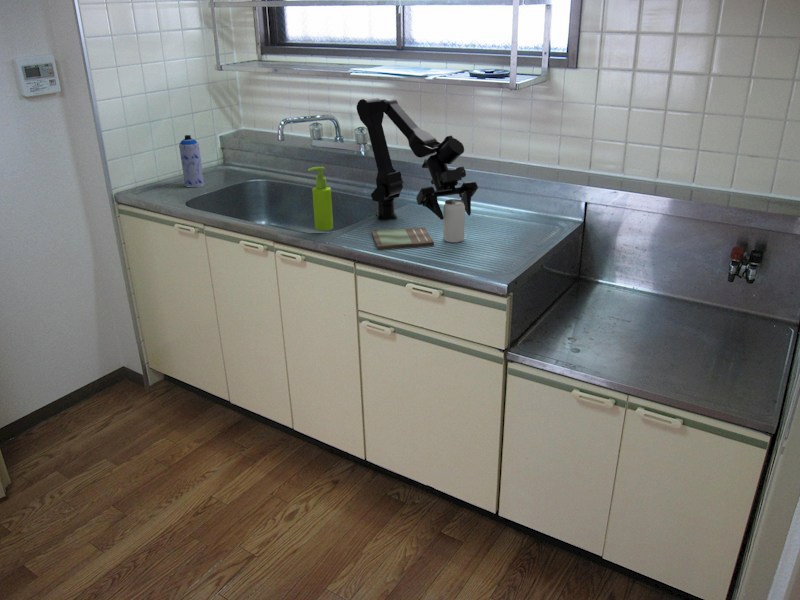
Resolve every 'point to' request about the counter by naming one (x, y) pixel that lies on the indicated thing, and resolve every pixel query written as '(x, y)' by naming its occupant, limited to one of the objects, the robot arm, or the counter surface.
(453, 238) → the can
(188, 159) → the aerosol can
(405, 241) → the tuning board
